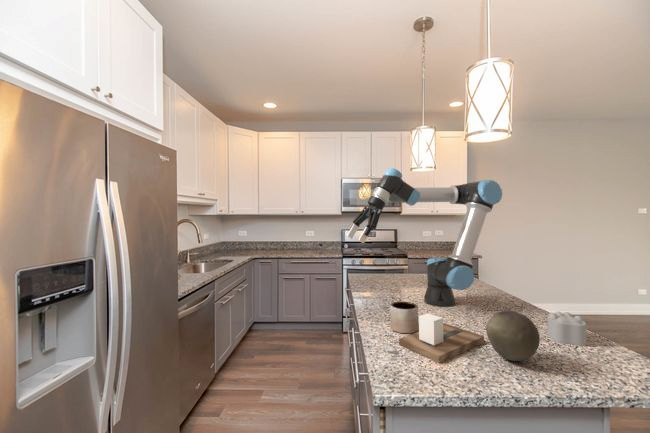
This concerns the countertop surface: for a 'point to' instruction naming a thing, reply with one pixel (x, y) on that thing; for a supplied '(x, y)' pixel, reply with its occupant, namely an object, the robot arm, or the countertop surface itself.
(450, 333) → the fader board
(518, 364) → the countertop surface
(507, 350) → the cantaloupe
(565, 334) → the lumpy-topped squat cylinder
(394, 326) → the planter
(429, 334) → the fader cap
